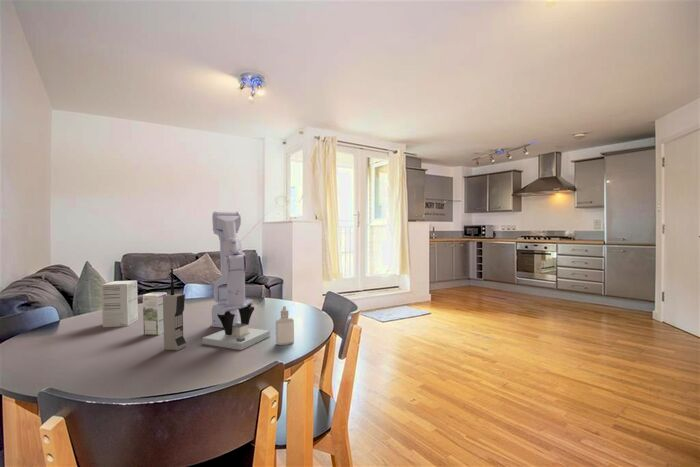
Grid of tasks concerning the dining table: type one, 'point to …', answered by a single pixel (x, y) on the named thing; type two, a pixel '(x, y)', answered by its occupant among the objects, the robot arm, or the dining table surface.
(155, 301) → the syrup box
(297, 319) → the dining table surface
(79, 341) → the dining table surface
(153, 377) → the dining table surface
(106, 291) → the supplement box
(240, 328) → the plug block
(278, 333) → the eye dropper bottle
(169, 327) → the vintage mobile phone
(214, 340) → the socket plate
